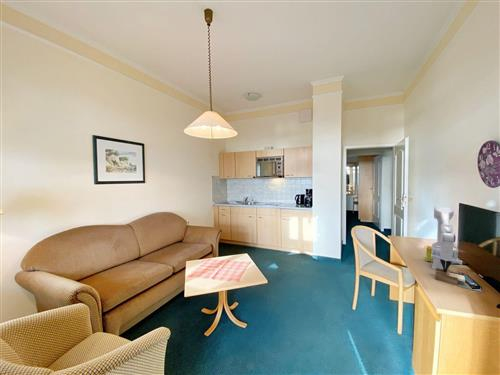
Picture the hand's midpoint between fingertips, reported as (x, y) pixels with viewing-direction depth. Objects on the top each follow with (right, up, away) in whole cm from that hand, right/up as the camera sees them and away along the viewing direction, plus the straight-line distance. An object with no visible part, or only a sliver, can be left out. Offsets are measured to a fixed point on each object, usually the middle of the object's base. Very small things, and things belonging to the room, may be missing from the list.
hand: (444, 271), depth 133 cm
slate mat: (+8, -6, -7) cm, 12 cm away
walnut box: (0, -5, 0) cm, 5 cm away
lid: (+3, -2, -3) cm, 5 cm away
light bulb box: (+28, -4, +26) cm, 38 cm away
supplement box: (+15, -3, +27) cm, 31 cm away
